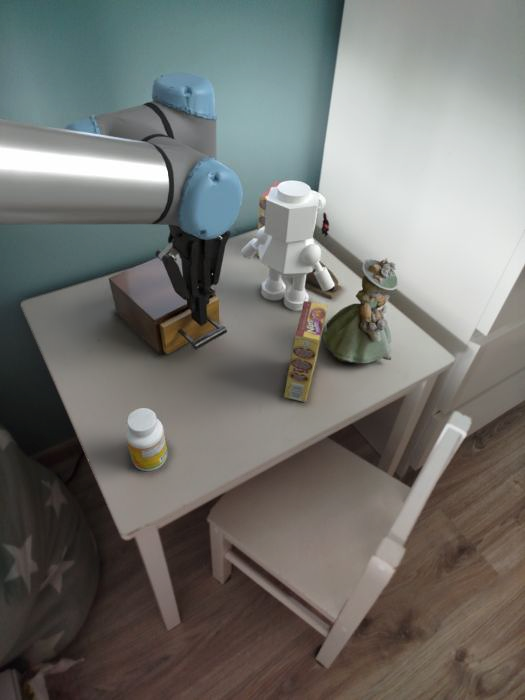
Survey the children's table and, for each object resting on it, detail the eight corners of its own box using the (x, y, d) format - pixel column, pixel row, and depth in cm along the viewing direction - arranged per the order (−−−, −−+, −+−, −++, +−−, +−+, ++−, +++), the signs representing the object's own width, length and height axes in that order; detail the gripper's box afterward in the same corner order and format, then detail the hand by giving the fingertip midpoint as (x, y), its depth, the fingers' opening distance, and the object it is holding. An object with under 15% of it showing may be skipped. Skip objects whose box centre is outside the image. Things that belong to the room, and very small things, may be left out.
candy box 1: (271, 261, 110) (276, 201, 99) (255, 256, 111) (258, 196, 100) (286, 243, 115) (292, 184, 104) (271, 238, 117) (275, 180, 106)
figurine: (369, 390, 83) (398, 304, 69) (304, 353, 89) (318, 267, 74) (403, 346, 92) (435, 262, 77) (342, 315, 97) (361, 231, 83)
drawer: (238, 341, 89) (238, 314, 84) (185, 372, 83) (182, 345, 78) (176, 290, 99) (173, 263, 94) (125, 314, 93) (119, 287, 88)
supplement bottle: (128, 448, 72) (117, 410, 65) (161, 437, 74) (155, 399, 67) (137, 477, 69) (126, 440, 62) (172, 464, 71) (165, 427, 64)
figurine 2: (277, 275, 106) (280, 242, 100) (288, 266, 109) (291, 234, 102) (331, 299, 101) (338, 266, 95) (341, 289, 103) (348, 256, 97)
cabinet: (216, 323, 94) (215, 289, 87) (159, 354, 87) (154, 320, 81) (171, 286, 101) (167, 252, 95) (116, 312, 94) (108, 277, 88)
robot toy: (340, 302, 100) (364, 194, 82) (315, 332, 93) (336, 220, 75) (255, 267, 108) (260, 160, 90) (227, 292, 101) (226, 182, 83)
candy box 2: (307, 403, 80) (320, 341, 69) (283, 398, 81) (292, 335, 70) (315, 367, 86) (328, 304, 76) (292, 362, 87) (302, 299, 76)
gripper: (168, 224, 61) (182, 348, 78) (242, 195, 68) (240, 315, 85) (137, 201, 65) (157, 325, 82) (210, 176, 71) (214, 295, 88)
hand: (199, 320), depth 83 cm, fingers closed
